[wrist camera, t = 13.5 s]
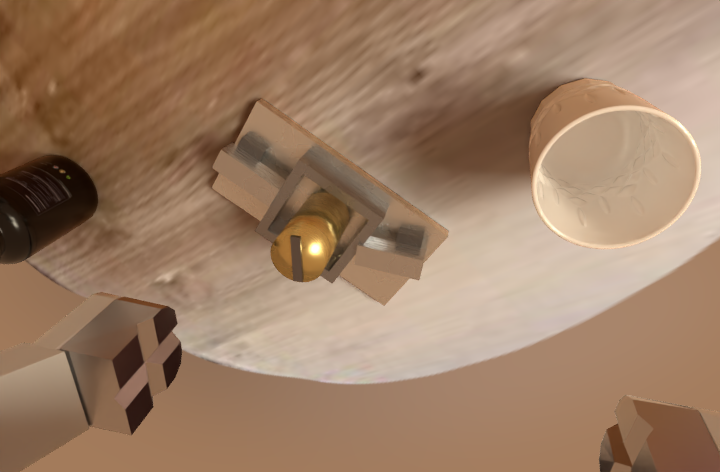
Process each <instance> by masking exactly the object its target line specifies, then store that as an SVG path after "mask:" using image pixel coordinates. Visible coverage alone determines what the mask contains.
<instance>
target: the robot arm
mask: <svg viewBox="0 0 720 472" xmlns="http://www.w3.org/2000/svg"><path fill="white" fill-rule="evenodd" d="M177 324H178V323H177V319H176V314H175V310H174V309H172V308H170V307H169V306H164V305H160V304H155V303H151V302H146V301H142V300H137V299H132V298H128V297H120V296H116V295H112V294H107V293H103V292H100V293H96V294H92V295H91V296H90V297H89V298H87V299H86V300H85V301H84V302H83V303H81V304H80V305H79V306H78V307H76V308H75V309H74V310H73V311H72V312H70V313H69V314H68V315H67V316H65V317H64V318H63V319H62V320H61V321H59V322H58V323H57V324H56V325H55V326H53V327H52V328H51V329H50V330H48V331H47V332H46V333H45V334H43V335H42V336H41V337H40V338H39V339H37V340H36V341H35V342H34V343H32V344H28V343H22V344H19V345H17V346H14V347H11V348H8V349H6V350H3V351H0V472H20V471H22V470H23V469H25V468H27V467H28V466H30V465H31V464H33V463H35V462H36V461H38V460H40V459H41V458H43V457H45V456H46V455H48V454H49V453H51V452H53V451H54V450H56V449H57V448H59V447H61V446H62V445H64V444H66V443H67V442H69V441H70V440H72V439H74V438H75V437H77V436H78V435H80V434H82V433H83V432H85V431H87V430H88V429H89V426H90V427H95V428H100V429H104V430H109V431H114V432H119V433H123V434H128V435H132V434H133V433H134V432H135V430H136V429H137V428H138V426H139V425H140V424H141V422H142V421H143V420H144V419H145V417H146V416H147V415H148V413H149V412H150V411H151V409H152V408H153V396H154V395H156V394H158V393H160V392H162V391H164V390H166V389H167V388H168V387H169V386H170V384H171V383H172V381H173V380H174V379H175V377H176V374H177V372H178V369H179V367H180V364H181V357H182V348H181V342H180V340H179V339H178V338H177V337H176V336H175V334H174V333H173V332H172V330H173V329H174V328H175V326H176V325H177ZM615 414H616V418H617V421H618V424H616V425H614V426H612V427H610V428H608V429H607V430H606V433H605V435H604V438H603V440H602V443H601V449H600V457H599V464H600V472H720V412H718V411H712V410H707V409H701V408H696V407H691V408H690V407H688V406H682V405H677V404H672V403H666V402H661V401H656V400H650V399H644V398H639V397H634V396H629V395H625V396H623V397H622V398H621V399H620V400H619V403H618V405H617V407H616V409H615Z"/></svg>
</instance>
